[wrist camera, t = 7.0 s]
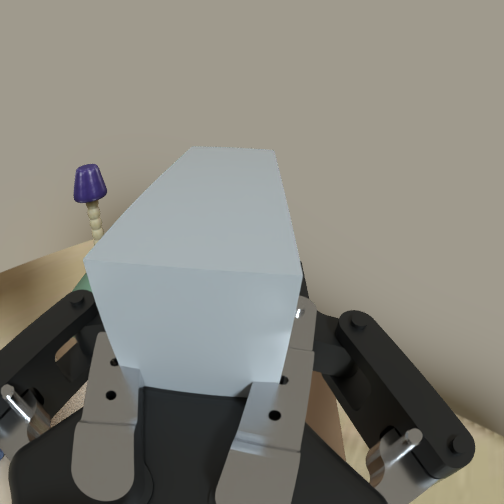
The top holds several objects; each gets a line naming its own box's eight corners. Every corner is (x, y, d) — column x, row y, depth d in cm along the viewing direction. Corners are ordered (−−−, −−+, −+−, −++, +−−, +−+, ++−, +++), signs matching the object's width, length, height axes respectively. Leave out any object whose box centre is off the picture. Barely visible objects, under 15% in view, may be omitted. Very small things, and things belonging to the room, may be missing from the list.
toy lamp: (127, 276, 40) (109, 163, 32) (101, 290, 37) (76, 173, 28) (112, 264, 42) (95, 159, 34) (87, 276, 39) (64, 168, 31)
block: (174, 468, 10) (82, 259, 4) (199, 330, 18) (192, 146, 12) (253, 476, 10) (303, 275, 4) (256, 335, 18) (273, 150, 12)
